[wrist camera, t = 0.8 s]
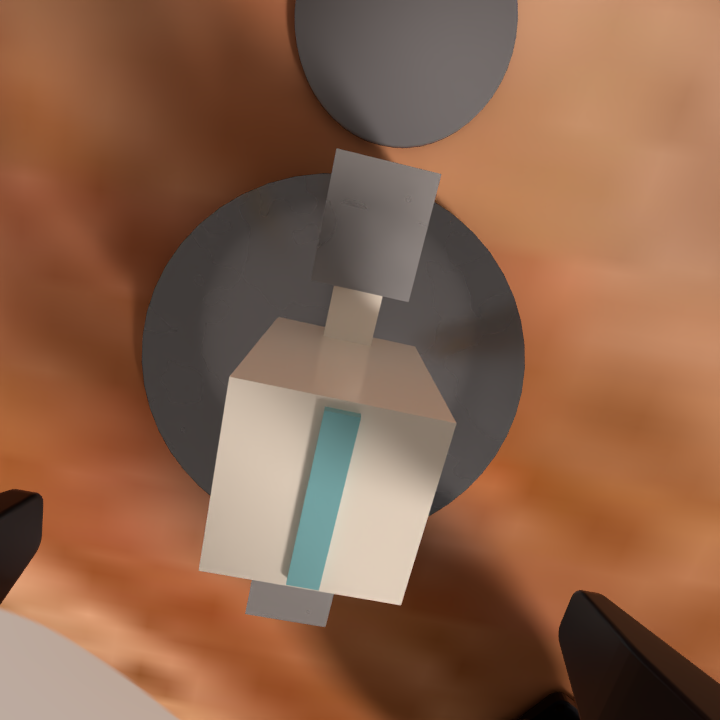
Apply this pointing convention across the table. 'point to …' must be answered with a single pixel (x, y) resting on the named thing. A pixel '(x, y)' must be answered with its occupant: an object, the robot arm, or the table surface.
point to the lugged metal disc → (311, 305)
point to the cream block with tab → (327, 457)
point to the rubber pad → (405, 63)
